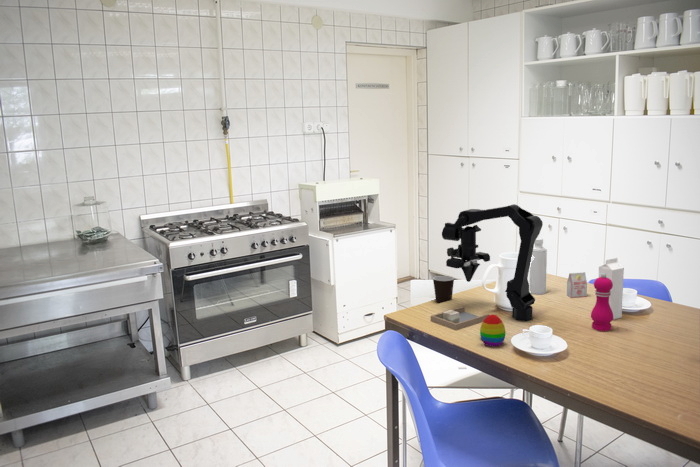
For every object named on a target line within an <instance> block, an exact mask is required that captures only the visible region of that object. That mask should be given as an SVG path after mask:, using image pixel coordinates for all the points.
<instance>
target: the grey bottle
mask: <svg viewBox="0 0 700 467" xmlns="http://www.w3.org/2000/svg"><path fill="white" fill-rule="evenodd" d="M543 244H544V239H543V238H542V237H541V238H540V237H537V238H536V240H535V242H534V247H533V252H532V255H533V256H534V257H535V258H534V260H533V261H532V263H531V267H529V292H530V291H531V295H536V296H537V295H538V296H539V295H545V294H546V293H547V260H548V259H547V254H548V253H547V252H548V251H547V249H546V248H545V246H544V247H543Z"/></svg>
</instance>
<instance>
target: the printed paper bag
mask: <svg viewBox="0 0 700 467" xmlns="http://www.w3.org/2000/svg"><path fill="white" fill-rule="evenodd" d="M587 292H588V281H587V276H586V272H573V273H572V272H570V273H568V278H567V282H566V296H567V297H569V298H570V299H575V298H577V299H578V298H579V299H580V298H587V296H588V293H587Z"/></svg>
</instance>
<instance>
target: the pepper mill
mask: <svg viewBox="0 0 700 467" xmlns="http://www.w3.org/2000/svg"><path fill="white" fill-rule="evenodd" d="M593 287H594V289H595V290H594V291H595V292H594V294H595V296H596V300H595V304H594V306H593V308H592V310H591V312H590V319H591V320H592V322H591V328H592V330H595V331H598V332H609V331H611V330H612V323H611V322H613V321H614V320H613V312H612V310H611V308H610V305H609V296H611V291H610V290H611V289H612V287H613V283H612V281H611V280H610V279H609V278H607V277H606V274H605V273H602V274H601V277H599V276H598V277H596V279H595V280H594V281H593Z"/></svg>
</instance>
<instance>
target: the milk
mask: <svg viewBox="0 0 700 467" xmlns="http://www.w3.org/2000/svg"><path fill="white" fill-rule="evenodd" d="M624 270H625V269H624V267H623V265H621V264H620V263H619V262H618V257H613V258H609V259H605V264H603V265H600V266H598V278H599V277H601V274H602V273H605V274H606V277H607V278H609V279H610V280H611V281H612V283H613V287H612V289H611V290H610V291H611V296H609V305H610V308H611V310H612V312H613V320H612V321H614V320H617V319H621V318H622V316H623V298H624V297H623V296H624V273H625V272H624Z"/></svg>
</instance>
